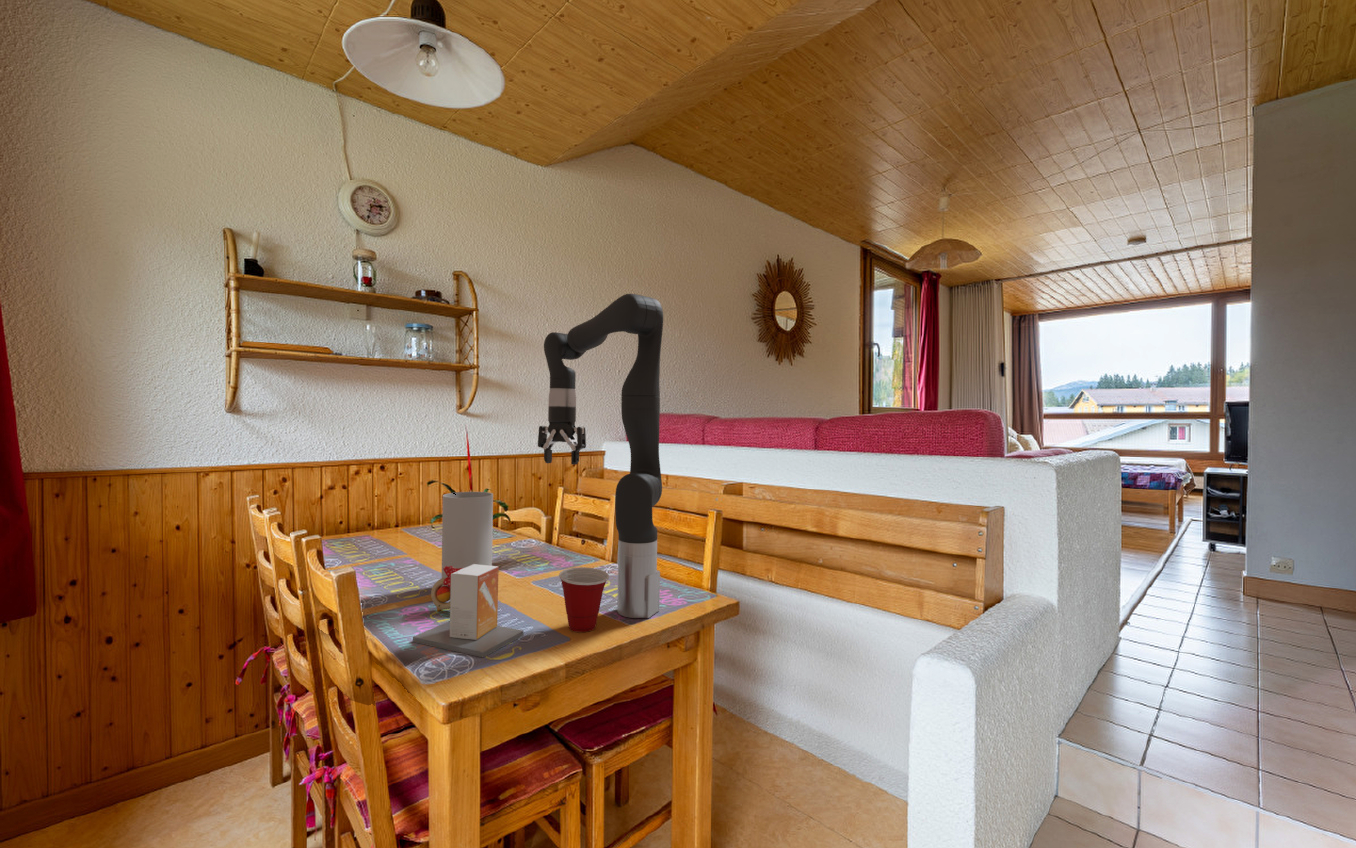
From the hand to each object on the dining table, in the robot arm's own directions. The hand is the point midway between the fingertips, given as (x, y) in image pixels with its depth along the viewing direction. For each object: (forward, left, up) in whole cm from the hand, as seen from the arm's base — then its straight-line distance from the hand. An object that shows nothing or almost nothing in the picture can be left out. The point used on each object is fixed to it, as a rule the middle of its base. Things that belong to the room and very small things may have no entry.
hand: (561, 463), depth 154 cm
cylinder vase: (+19, +15, -33) cm, 41 cm away
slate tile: (-6, +41, -33) cm, 53 cm away
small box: (-6, +40, -32) cm, 52 cm away
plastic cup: (-24, +26, -33) cm, 49 cm away
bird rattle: (+10, +30, -33) cm, 46 cm away
